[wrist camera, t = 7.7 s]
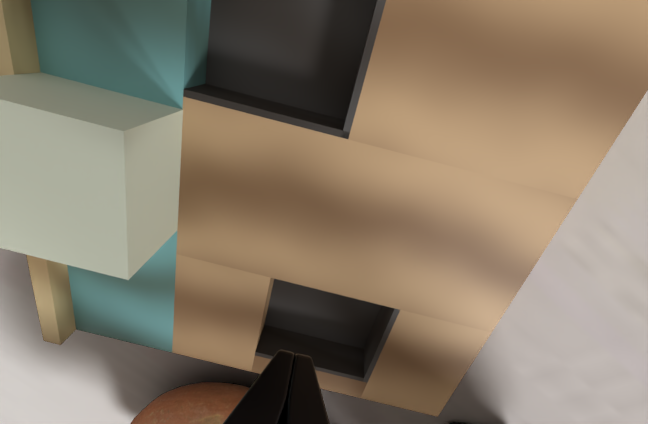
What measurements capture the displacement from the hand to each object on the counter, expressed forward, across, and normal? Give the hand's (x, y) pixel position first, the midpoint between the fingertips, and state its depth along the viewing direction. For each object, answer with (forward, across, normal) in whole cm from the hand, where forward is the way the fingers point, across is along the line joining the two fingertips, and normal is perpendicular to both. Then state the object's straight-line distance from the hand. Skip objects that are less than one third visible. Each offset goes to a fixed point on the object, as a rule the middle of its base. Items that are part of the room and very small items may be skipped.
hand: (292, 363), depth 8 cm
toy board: (+11, +2, 0) cm, 11 cm away
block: (+8, +10, 0) cm, 13 cm away
